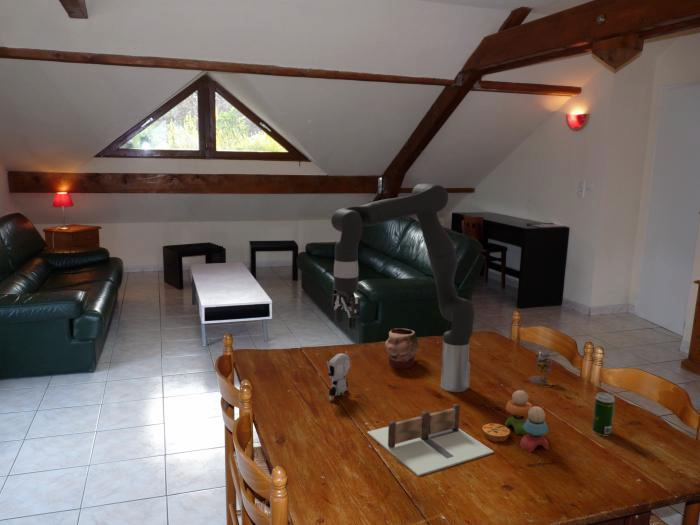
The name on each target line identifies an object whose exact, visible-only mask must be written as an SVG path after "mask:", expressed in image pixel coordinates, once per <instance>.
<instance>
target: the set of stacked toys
mask: <svg viewBox="0 0 700 525" xmlns="http://www.w3.org/2000/svg"><path fill="white" fill-rule="evenodd" d="M505 410H506V412H508V413H509V414H511V416H509V417H508V418H507V419H506V421H505V423H504V425H503V424H500V423H486V424H484V425H482V428H481V429H482V432H483V436H484V437H485V439H487V440H489V441H493V442H497V441H501V442H504V441H507V440H508V439H509V435H510V434H511V430H510V429H509V426H510V425H511V426H512V427H513V429H514V433H515V434H516V435H517V434H526V435H522V436H523V437H521V439H520V443H519V446H520V448H521V447H522V448H523V449H522V448H521V449H522V450H523V451H525V450H526V452H527V451H528V453H533V452H534V450H535V449H536V448H537V447H538V446H539V445H540V446H542V448H544V449H545V450H547V449H548V450H549V449H550V446H549V442H548V439H547V438H546V437H545V436H544V435H547V434H548V432H549V427H548V425H547V423H546V421H545V418H546V413H545V411H544V409H543V408H542V407H540V406H535V405H534V406H533V405H532V404H531V403H530V402H529V396H528V393H527V392H525V391H524V390H523V389H521V390H519V389H518V390H515V391H514V392H513V393H512V396H511V399H510V400H508V401H507V402H506V405H505ZM525 417H528V418H527V419H526V418H525ZM505 425H506V426H505ZM506 439H507V440H506ZM535 447H536V448H535Z"/></svg>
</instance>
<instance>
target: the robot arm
mask: <svg viewBox="0 0 700 525" xmlns="http://www.w3.org/2000/svg"><path fill="white" fill-rule="evenodd" d="M448 202H449V194H448V191H447V189H446V188H445V187H444V186H442V185H439V184H437V183H426V182H425V183H424V182H423V183H418V184H416V185H415V186H414V187H413V189H412V191H411V195H407V196H401V197H393V198H386V199H380V200H376V201H372V202H369V203H366V204H365V203H364V204H362V205H361V204H360V205H355V206H354V205H353V206H348V207H342V208H340V209H337V210H335V212H334V213H333V214H332V216H331V219H330V220H331V222H330V223H331V225H332V228H334V230H336V231H338V232H340V233H341V235H340V239H339V240H338V241H337V242H335V246H334V264H333V288H332V291H331V307H332V308H333V309H334V311H335V316H334V317H335V318H334V320H335V322H336V323H341V322H343V319H344V318H343V315H344V314H343V313H344V312H343V308H344V311H345V312H346V313H347V315H348V316H347V317H348V320H347V327H348V330H356V327H357V326H356V323H357V322H356V321H357V320H356V318H359V317H361V298H360V296H355V291H357V290H358V289H359V263H358V262H359V261H358V258H359V257H358V254H359V250H358V248H359V247H358V246H359V243H360V239H361V236H362V232H363V227H372V226H373V227H374V226H377V225H380V224H383V223H387V222H390V221H394V220H396V219H401V218H405V217H409V216H413V215H415V216H416V217H417V221H418V223H419V226H420V229H421V232H422V237H423V240H424V244H425V247H426V251H427V257H428V260H429V265H430V268H431V270H432V274H433V279H434V283H435V288H436V292H437V300H438V306H439V312H440V315H441V316H442V317H443V319H444V320H446V321H448V322H451V329H450V330H447V331H445V332H443V335H442V353H441V354H442V355H441V375H440V387H441V388H442V390H444V391H446V392H452V393H460V392H461V393H462V392H464V391H467V389H470V378H471V377H470V376H471V375H470V374H471V362H470V361H469V355H470V354H469V353H470V341H471V340H470V339H471V337H472V335H473V330H474V329H473V328H474V321H475V306H474V303H473V302H472V301H470V300H469V299H465V298H463V297H461V296H459V295H458V293H457V290H456V285H455V275H456V273H457V268H458V256H457V253H456V249H455V244H454V242H453V240H452V238H451V237H450V236H449V234H448V232H447V231H446V230H445V228H444V227H443V225H442V223H441V222H440V219H439V216H438V213H439V212H441V211H442V210H443V209H445V207H446V206H447V204H448Z"/></svg>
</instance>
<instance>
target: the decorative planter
mask: <svg viewBox="0 0 700 525" xmlns="http://www.w3.org/2000/svg"><path fill="white" fill-rule="evenodd" d="M384 348H385V350H386V352H387V354H388V360H387V361H388V366H390V367H393V368H395V369H396V368H397V369H408V368H411V367H412V366H413V365H414V363H415V359H416V354H417V351H418V349H419V341H418V337H417V335H416V332H415V331H414V330H412V329H408V328H391V329H390V331H388V339H386V341H385V343H384Z"/></svg>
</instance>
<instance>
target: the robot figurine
mask: <svg viewBox="0 0 700 525" xmlns="http://www.w3.org/2000/svg"><path fill="white" fill-rule="evenodd" d="M538 353H539V355H537V354H536V355H535V358H537V359H536V360H535V363H534V367H535V366H536V367H537V368H538V370H539V371H540V375H541V376H539V374H536V375H533V376H529V377H527V379H528V380H530V381H531V382H532V383H533V384H537V385H536V386H538V385H543V386H550V385H548V384H546V383H548V382H546V380H547V379H546V377H547V371H549V372H550V371H551V370H552V366H553V360H552V359H550V360H549V358H548V357H550V354H549V353H547V354H545V353H543V352H542V351H539V352H538ZM543 371H544V372H545V373H544V376H545V377H544V378H543V377H542V376H543V374H542V373H543ZM542 378H543V379H542ZM530 381H529V382H530ZM531 382H530V383H531ZM532 383H531V384H532ZM533 384H532V385H533ZM543 386H542V387H543Z"/></svg>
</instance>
